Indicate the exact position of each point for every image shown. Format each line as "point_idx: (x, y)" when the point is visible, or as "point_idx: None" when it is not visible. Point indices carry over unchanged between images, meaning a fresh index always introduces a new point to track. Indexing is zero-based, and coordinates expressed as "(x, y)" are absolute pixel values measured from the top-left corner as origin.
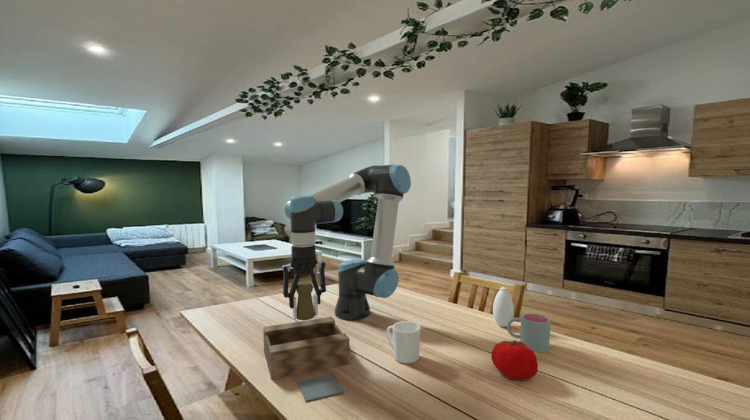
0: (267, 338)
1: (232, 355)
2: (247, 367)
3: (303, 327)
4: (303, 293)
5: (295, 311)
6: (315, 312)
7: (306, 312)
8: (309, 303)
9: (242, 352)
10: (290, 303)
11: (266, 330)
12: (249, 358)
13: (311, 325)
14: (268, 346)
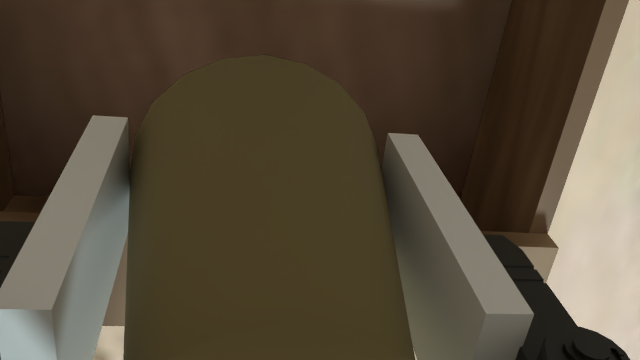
0: (559, 164)
1: (630, 239)
2: (628, 62)
3: None
4: (379, 348)
5: (432, 180)
6: (119, 135)
7: (279, 108)
8: (215, 195)
9: (574, 250)
10: (538, 287)
11: (536, 267)
12: (573, 166)
13: None
14: (621, 9)
